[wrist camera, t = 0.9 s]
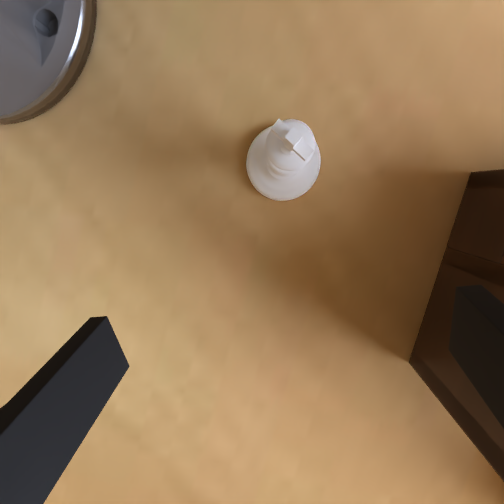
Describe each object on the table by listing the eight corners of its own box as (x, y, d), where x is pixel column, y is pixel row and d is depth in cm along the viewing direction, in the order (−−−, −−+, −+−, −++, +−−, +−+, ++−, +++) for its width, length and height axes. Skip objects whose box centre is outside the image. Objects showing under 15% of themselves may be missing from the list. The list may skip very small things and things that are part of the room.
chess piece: (280, 107, 19) (288, 19, 9) (335, 159, 19) (400, 126, 10) (231, 167, 20) (193, 145, 10) (285, 215, 20) (298, 237, 11)
